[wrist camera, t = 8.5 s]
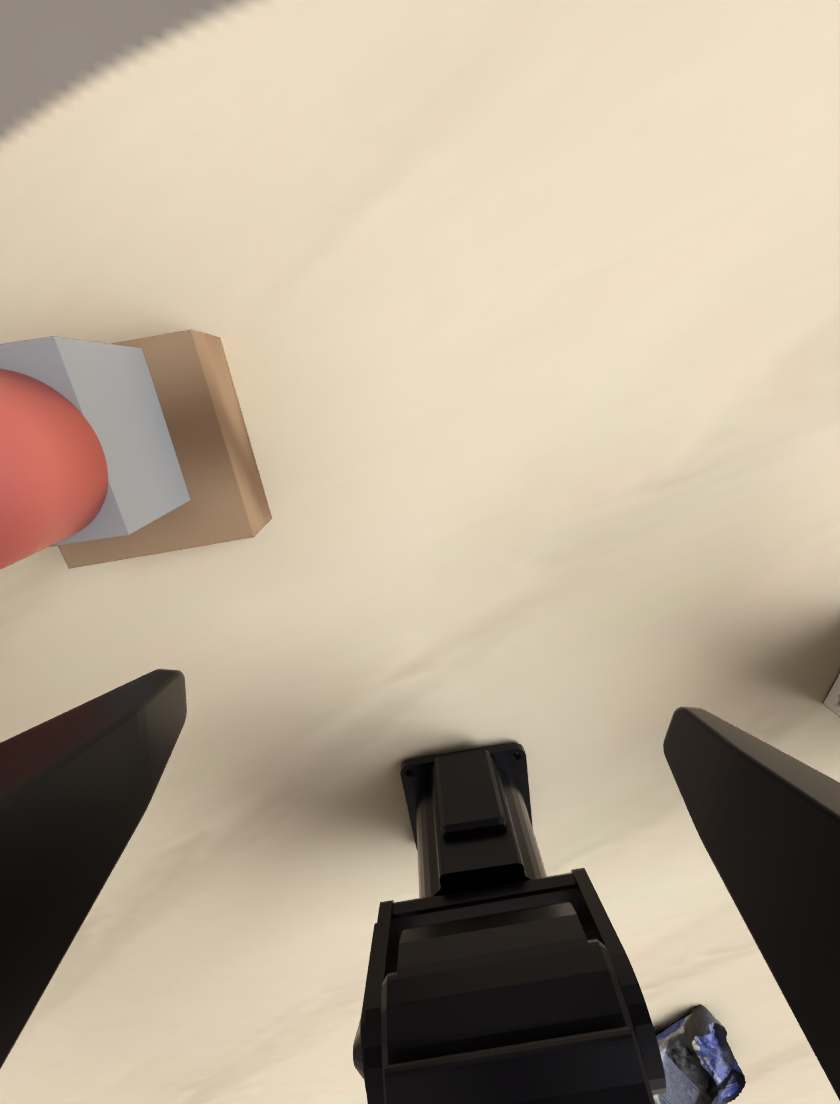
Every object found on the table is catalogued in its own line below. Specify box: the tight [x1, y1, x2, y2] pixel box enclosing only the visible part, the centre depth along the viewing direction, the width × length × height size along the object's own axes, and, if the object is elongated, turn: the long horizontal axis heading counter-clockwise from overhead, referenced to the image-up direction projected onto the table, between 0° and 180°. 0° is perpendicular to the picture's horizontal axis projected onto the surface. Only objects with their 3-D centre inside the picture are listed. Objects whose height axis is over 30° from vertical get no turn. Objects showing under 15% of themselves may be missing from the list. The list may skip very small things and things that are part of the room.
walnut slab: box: [58, 330, 272, 568], centre depth 17 cm, size 7×7×3 cm
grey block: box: [0, 336, 190, 546], centre depth 14 cm, size 5×5×4 cm
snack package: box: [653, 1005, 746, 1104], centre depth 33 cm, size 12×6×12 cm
